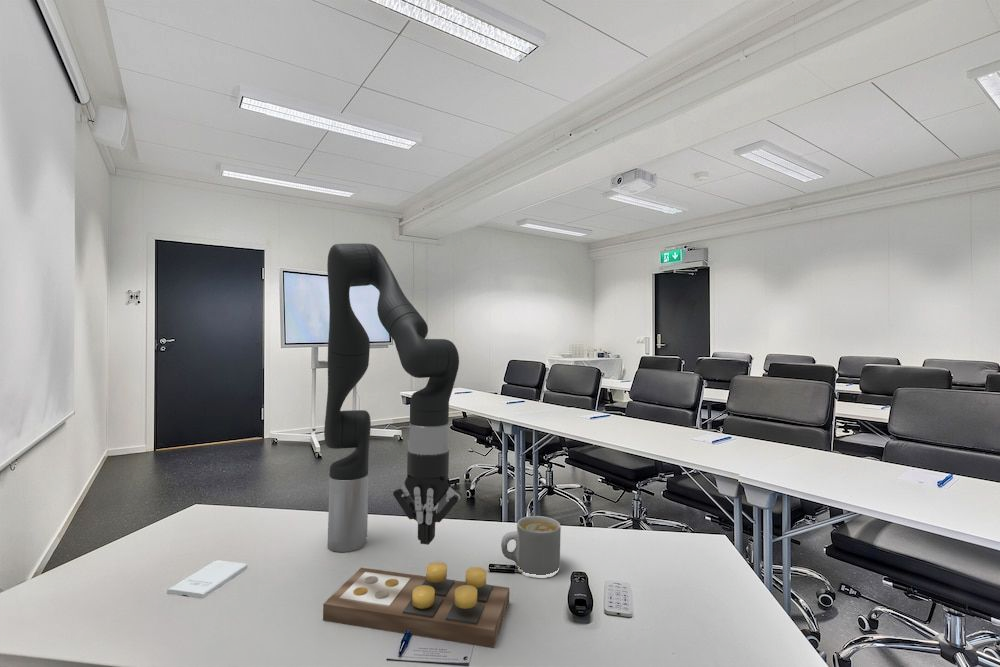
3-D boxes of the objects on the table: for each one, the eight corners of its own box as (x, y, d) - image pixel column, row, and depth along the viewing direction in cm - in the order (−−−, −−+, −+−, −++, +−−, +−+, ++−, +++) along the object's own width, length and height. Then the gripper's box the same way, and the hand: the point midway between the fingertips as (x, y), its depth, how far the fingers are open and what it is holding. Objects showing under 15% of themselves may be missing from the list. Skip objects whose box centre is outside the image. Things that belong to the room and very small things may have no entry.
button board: (360, 581, 100) (361, 565, 100) (509, 602, 94) (509, 585, 94) (322, 620, 86) (323, 601, 86) (493, 648, 80) (494, 627, 80)
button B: (417, 594, 89) (417, 584, 89) (437, 597, 88) (437, 587, 88) (408, 606, 85) (409, 595, 85) (429, 609, 84) (430, 598, 84)
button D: (458, 594, 87) (458, 583, 87) (479, 597, 86) (479, 586, 86) (451, 606, 83) (452, 595, 83) (473, 610, 82) (474, 598, 82)
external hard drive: (247, 571, 105) (202, 601, 93) (215, 566, 106) (166, 596, 94) (247, 563, 105) (202, 593, 93) (215, 559, 106) (166, 588, 94)
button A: (430, 571, 95) (430, 561, 95) (449, 573, 95) (449, 563, 95) (423, 580, 92) (423, 570, 92) (442, 583, 91) (443, 573, 91)
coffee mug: (558, 558, 113) (559, 516, 113) (561, 580, 103) (562, 534, 103) (502, 555, 114) (503, 514, 114) (499, 576, 104) (500, 531, 104)
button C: (468, 576, 94) (468, 566, 94) (488, 578, 93) (488, 568, 93) (462, 586, 90) (463, 575, 90) (483, 589, 89) (483, 578, 89)
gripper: (468, 445, 89) (466, 538, 89) (403, 440, 92) (400, 530, 92) (457, 455, 81) (454, 556, 81) (385, 449, 84) (383, 547, 84)
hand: (425, 542), depth 86 cm, fingers closed
